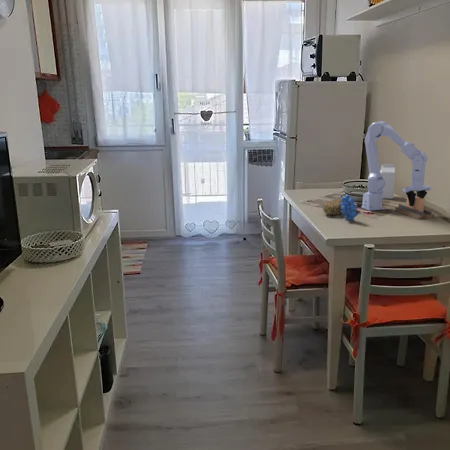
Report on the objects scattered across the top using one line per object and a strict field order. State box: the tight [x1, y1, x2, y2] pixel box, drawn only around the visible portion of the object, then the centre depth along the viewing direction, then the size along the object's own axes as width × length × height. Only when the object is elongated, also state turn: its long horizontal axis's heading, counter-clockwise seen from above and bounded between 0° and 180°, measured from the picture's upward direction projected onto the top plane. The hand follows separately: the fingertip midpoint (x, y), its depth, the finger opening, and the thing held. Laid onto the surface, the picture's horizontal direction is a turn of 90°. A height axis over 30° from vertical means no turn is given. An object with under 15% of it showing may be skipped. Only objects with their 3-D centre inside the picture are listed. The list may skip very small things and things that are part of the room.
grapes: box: [340, 194, 358, 222], centre depth 220 cm, size 12×7×12 cm, turn 23°
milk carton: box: [380, 163, 396, 199], centre depth 263 cm, size 7×7×19 cm
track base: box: [394, 203, 436, 220], centre depth 229 cm, size 9×18×3 cm, turn 16°
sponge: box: [322, 198, 358, 216], centre depth 234 cm, size 13×8×20 cm
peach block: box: [405, 195, 425, 212], centre depth 228 cm, size 2×10×7 cm, turn 16°
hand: (415, 205), depth 229 cm, fingers open, 4 cm apart
